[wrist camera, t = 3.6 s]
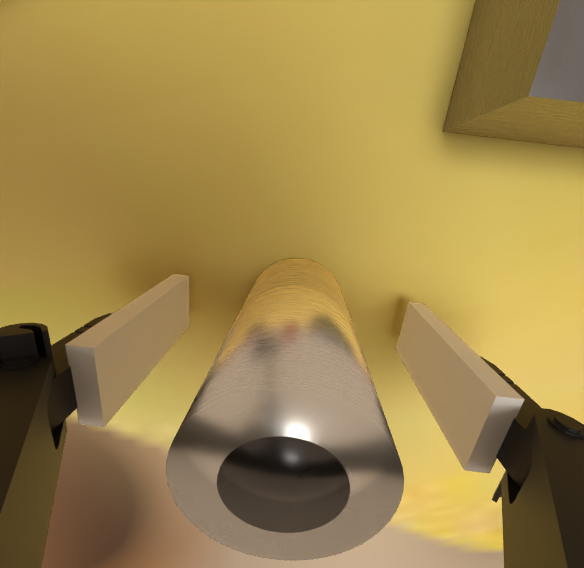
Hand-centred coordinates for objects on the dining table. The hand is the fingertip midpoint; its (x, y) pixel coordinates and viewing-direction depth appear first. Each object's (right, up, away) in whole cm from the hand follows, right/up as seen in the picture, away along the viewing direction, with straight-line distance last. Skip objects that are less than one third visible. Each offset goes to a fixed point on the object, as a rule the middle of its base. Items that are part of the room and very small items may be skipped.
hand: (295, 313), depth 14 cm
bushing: (0, 0, +1) cm, 1 cm away
